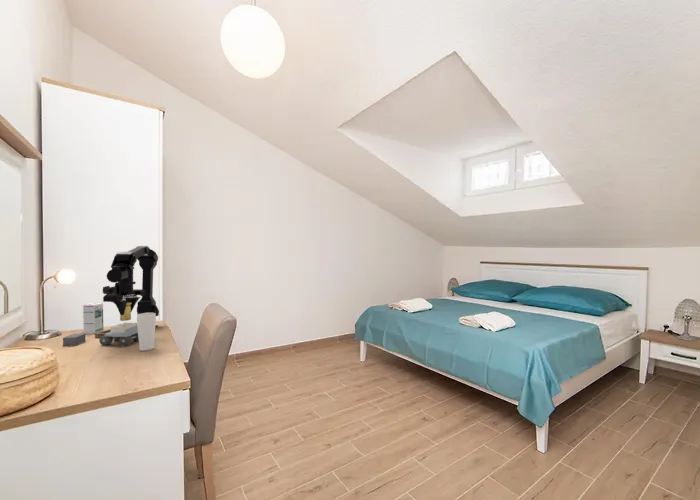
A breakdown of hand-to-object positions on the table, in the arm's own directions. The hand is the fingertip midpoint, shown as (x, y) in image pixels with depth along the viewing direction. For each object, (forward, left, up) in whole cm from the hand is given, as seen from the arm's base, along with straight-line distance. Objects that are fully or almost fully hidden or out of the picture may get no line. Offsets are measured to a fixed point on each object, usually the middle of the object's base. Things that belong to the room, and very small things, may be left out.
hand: (125, 314), depth 147 cm
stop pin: (0, 0, -2) cm, 3 cm away
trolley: (+1, 0, -13) cm, 13 cm away
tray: (0, 0, -8) cm, 8 cm away
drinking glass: (+9, +16, -13) cm, 22 cm away
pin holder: (-8, -15, -13) cm, 21 cm away
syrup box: (-13, -28, -13) cm, 34 cm away
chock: (+5, -20, -13) cm, 25 cm away
